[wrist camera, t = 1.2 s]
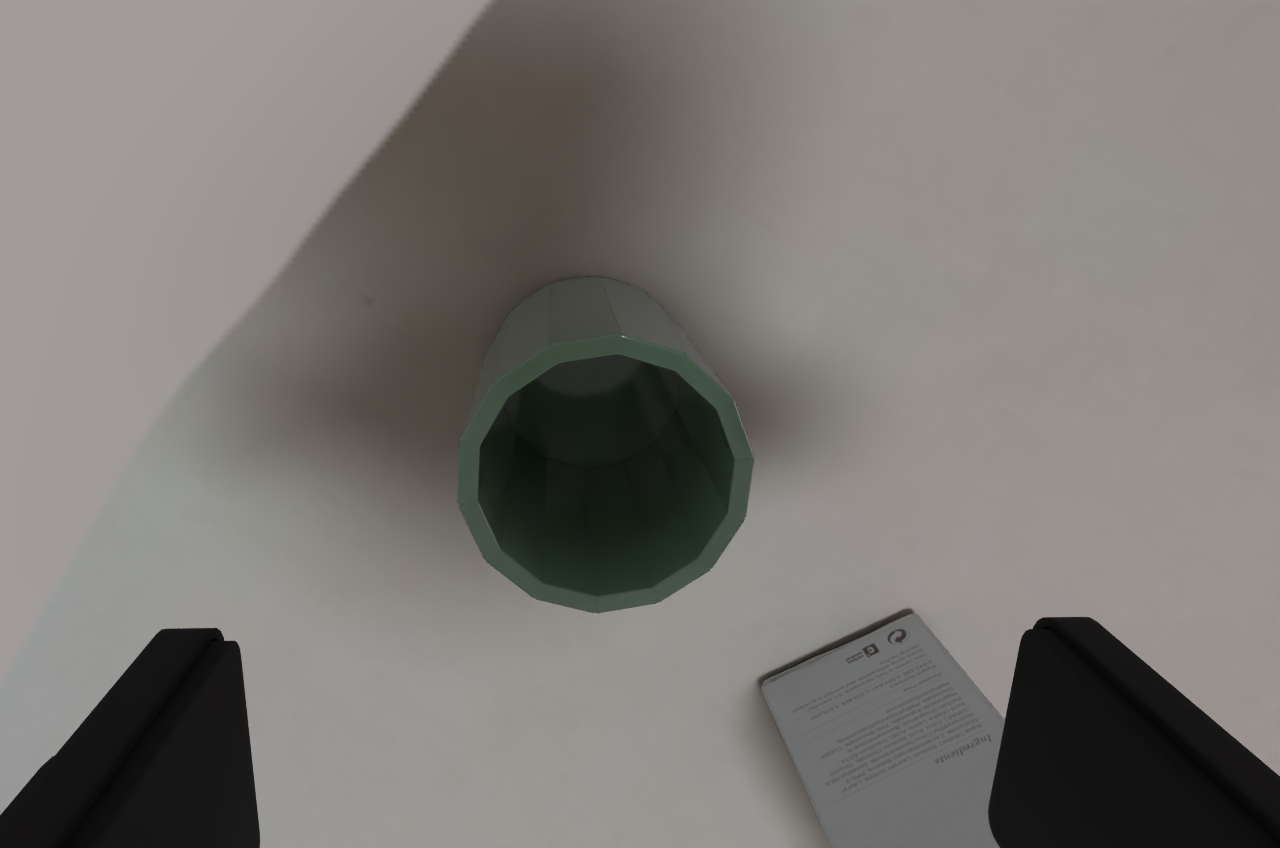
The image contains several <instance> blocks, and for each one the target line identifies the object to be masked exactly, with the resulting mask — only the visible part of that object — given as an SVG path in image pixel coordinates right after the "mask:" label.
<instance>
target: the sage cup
mask: <svg viewBox="0 0 1280 848" xmlns="http://www.w3.org/2000/svg"><path fill="white" fill-rule="evenodd" d="M753 457H754V455H753V452H752V449H751V446H750V443H749V440H748V437H747V434H746V432H745V429H744V426H743V423H742V420H741V417H740V414H739V411H738V409H737V406H736V403H735V400H734V399H733V397H732V396H731V394H730V393H729V391H728V390H727V389H726V387H725V386H724V385H723V383H722V382H721V380H720V379H719V378H718V376H717V375H716V374H715V372H714V371H713V369H712V368H711V367H710V365H709V364H708V362H707V361H706V360H705V358H704V357H703V356H702V354H701V353H700V351H699V350H698V349H697V347H696V346H695V345H694V343H693V342H692V340H691V339H690V338H689V336H688V335H687V333H686V332H685V331H684V329H683V328H682V327H681V325H680V324H679V323H678V322H677V321H676V320H675V319H674V318H673V317H672V316H671V315H670V314H669V313H668V312H667V311H666V310H665V309H664V307H663V306H662V305H661V304H659V303H658V302H657V301H656V300H655V299H654V298H652V297H651V296H650V295H649V294H648V293H647V292H645V291H643V290H640V289H638V288H636V287H634V286H632V285H630V284H627V283H624V282H621V281H618V280H615V279H609V278H604V277H589V276H588V277H576V278H570V279H566V280H561V281H558V282H555V283H553V284H550V285H547V286H545V287H543V288H542V289H540V290H538V291H536V292H534V293H533V294H531V295H530V296H529V297H527V298H526V299H524V300H523V301H522V302H521V303H520V304H519V305H518V306H517V307H516V308H514V309H513V310H512V311H511V312H510V313H509V315H508V316H507V318H506V319H505V321H504V323H503V324H502V326H501V327H500V329H499V331H498V333H497V335H496V337H495V340H494V341H493V343H492V345H491V347H490V348H489V350H488V353H487V356H486V359H485V362H484V365H483V369H482V372H481V375H480V378H479V381H478V385H477V388H476V391H475V394H474V397H473V400H472V404H471V407H470V410H469V413H468V416H467V420H466V423H465V426H464V429H463V432H462V436H461V439H460V442H459V467H458V498H457V502H458V507H459V509H460V511H461V513H462V515H463V517H464V519H465V521H466V523H467V525H468V527H469V529H470V531H471V534H472V536H473V538H474V540H475V542H476V544H477V546H478V548H479V550H480V552H481V554H482V556H483V558H484V559H485V560H486V562H487V563H489V564H490V565H491V566H492V567H494V568H495V569H496V570H498V571H499V572H500V573H501V574H503V575H504V576H505V577H507V578H508V579H509V580H511V581H512V582H513V583H514V584H516V585H517V586H518V587H520V588H521V589H522V590H523V591H525V592H526V593H527V594H529V595H530V596H531V597H532V598H535V599H537V600H541V601H545V602H549V603H553V604H558V605H562V606H566V607H570V608H574V609H578V610H583V611H587V612H591V613H595V612H596V613H602V612H608V611H614V610H620V609H626V608H632V607H638V606H644V605H650V604H656V603H657V602H661V601H662V600H664V599H666V598H667V597H669V596H670V595H672V594H673V593H675V592H677V591H678V590H680V589H681V588H683V587H685V586H686V585H688V584H689V583H691V582H692V581H694V580H696V579H697V578H699V577H700V576H702V575H704V574H705V573H707V572H708V571H710V569H712V568H713V566H714V565H715V563H716V562H717V560H718V559H719V557H720V556H721V554H722V553H723V551H724V550H725V548H726V547H727V545H728V544H729V542H730V541H731V539H732V538H733V536H734V535H735V533H736V532H737V530H738V529H739V527H740V526H741V524H742V523H743V521H744V520H745V517H746V513H747V506H748V499H749V492H750V485H751V478H752V471H753V464H754V458H753Z"/></svg>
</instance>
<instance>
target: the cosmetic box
mask: <svg viewBox="0 0 1280 848" xmlns="http://www.w3.org/2000/svg"><path fill="white" fill-rule="evenodd" d="M761 689H762V692H763V695H764V697H765V699H766V701H767V704H768V706H769V708H770V710H771V713H772V715H773V717H774V719H775V721H776V724H777V726H778V728H779V730H780V733H781V735H782V737H783V739H784V742H785V744H786V746H787V748H788V751H789V753H790V755H791V757H792V759H793V762H794V764H795V766H796V768H797V770H798V773H799V775H800V777H801V779H802V781H803V783H804V786H805V788H806V791H807V793H808V795H809V798H810V800H811V802H812V805H813V807H814V810H815V812H816V814H817V817H818V819H819V821H820V823H821V826H822V828H823V830H824V833H825V835H826V837H827V839H828V842H829V844H830V846H831V848H1000V847H999V846H998V844H997V842H996V841H995V839H994V837H993V835H992V832H991V829H990V825H989V819H988V806H989V800H990V795H991V790H992V785H993V780H994V775H995V770H996V765H997V759H998V754H999V749H1000V744H1001V739H1002V734H1003V729H1004V724H1005V719H1004V718H1003V717H1002V716H1001V715H1000V713H999V712H998V711H997V710H996V709H995V707H994V706H993V705H992V704H991V703H990V701H989V700H988V699H987V698H986V697H985V696H984V694H983V693H982V692H981V691H980V689H979V688H978V687H977V686H976V685H975V683H974V682H973V681H972V680H971V679H970V677H969V676H968V675H967V674H966V673H965V671H964V670H963V669H962V668H961V667H960V665H959V664H958V663H957V662H956V661H955V659H954V658H953V657H952V656H951V655H950V653H949V652H948V651H947V649H946V648H945V647H944V646H943V645H942V644H941V642H940V641H939V640H938V639H937V638H936V637H935V635H934V634H933V633H932V632H931V630H930V629H929V628H928V627H927V625H926V624H925V623H924V622H923V621H922V619H921V618H920V617H919V616H918V615H917V614H910V615H907V616H904V617H902V618H900V619H897V620H895V621H893V622H891V623H889V624H887V625H885V626H883V627H881V628H879V629H877V630H876V631H874V632H871V633H869V634H867V635H865V636H863V637H861V638H858V639H856V640H854V641H852V642H849V643H847V644H845V645H842V646H840V647H838V648H836V649H833V650H831V651H828V652H826V653H823V654H821V655H818V656H816V657H814V658H812V659H810V660H807V661H805V662H804V663H801V664H799V665H797V666H795V667H793V668H790V669H788V670H786V671H784V672H782V673H779V674H777V675H775V676H773V677H770V678H769V679H767V680H765V681H764V682H763V684H762V687H761Z"/></svg>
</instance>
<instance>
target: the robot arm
mask: <svg viewBox="0 0 1280 848" xmlns="http://www.w3.org/2000/svg"><path fill="white" fill-rule="evenodd" d="M988 819H989V825H990V829H991V832H992V835H993V837H994V839H995V841H996V842H997V844H998V846H999V847H1000V848H1280V776H1279V775H1277V774H1276V773H1275V772H1274V771H1273V770H1271V769H1270V768H1269V767H1268V766H1267V765H1266V764H1264V763H1263V762H1262V761H1261V760H1260V759H1258V758H1257V757H1256V756H1255V755H1254V754H1253V753H1251V752H1250V751H1249V750H1248V749H1247V748H1245V747H1244V746H1243V745H1242V744H1241V743H1240V742H1238V741H1237V740H1236V739H1235V738H1234V737H1232V736H1231V735H1230V734H1229V733H1228V732H1227V731H1225V730H1224V729H1223V728H1222V727H1221V726H1219V725H1218V724H1217V723H1216V722H1215V721H1214V720H1212V719H1211V718H1210V717H1209V716H1208V715H1206V714H1205V713H1204V712H1203V711H1202V710H1201V709H1199V708H1198V707H1197V706H1196V705H1195V704H1193V703H1192V702H1191V701H1190V700H1189V699H1188V698H1186V697H1185V696H1184V695H1183V694H1182V693H1180V692H1179V691H1178V690H1177V689H1176V688H1175V687H1173V686H1172V685H1171V684H1170V683H1169V682H1167V681H1166V680H1165V679H1164V678H1163V677H1162V676H1160V675H1159V674H1158V673H1157V672H1156V671H1154V670H1153V669H1152V668H1151V667H1150V666H1149V665H1147V664H1146V663H1145V662H1144V661H1143V660H1141V659H1140V658H1139V657H1138V656H1137V655H1136V654H1134V653H1133V652H1132V651H1131V650H1130V649H1128V648H1127V647H1126V646H1125V645H1124V644H1123V643H1121V642H1120V641H1119V640H1118V639H1117V638H1115V637H1114V636H1113V635H1112V634H1111V633H1110V632H1108V631H1107V630H1106V629H1105V628H1104V627H1102V626H1101V625H1100V624H1099V623H1098V622H1097V621H1095V620H1093V619H1091V618H1089V617H1047V618H1042V619H1040V620H1038V621H1037V622H1036V624H1035V625H1034V627H1033V629H1029V630H1027V631H1026V632H1025V633H1024V634H1023V636H1022V639H1021V642H1020V647H1019V652H1018V657H1017V662H1016V667H1015V672H1014V677H1013V682H1012V688H1011V693H1010V698H1009V703H1008V708H1007V713H1006V718H1005V724H1004V729H1003V734H1002V739H1001V744H1000V749H999V754H998V759H997V765H996V770H995V775H994V780H993V785H992V790H991V795H990V800H989V806H988ZM259 847H260V831H259V821H258V812H257V803H256V793H255V784H254V774H253V765H252V755H251V746H250V737H249V727H248V718H247V708H246V699H245V689H244V680H243V671H242V661H241V653H240V648H239V645H238V643H237V642H235V641H224V637H223V635H222V633H221V631H220V630H219V629H217V628H189V629H162V630H161V631H160V632H158V633H157V634H156V635H155V636H154V638H153V639H152V640H151V641H150V642H149V644H148V645H147V646H146V647H145V648H144V650H143V651H142V652H141V653H140V654H139V656H138V657H137V658H136V659H135V660H134V662H133V663H132V664H131V665H130V666H129V668H128V669H127V670H126V671H125V672H124V674H123V675H122V676H121V677H120V678H119V680H118V681H117V682H116V683H115V684H114V686H113V687H112V688H111V689H110V690H109V692H108V693H107V694H106V695H105V696H104V698H103V699H102V700H101V701H100V702H99V704H98V705H97V706H96V707H95V708H94V710H93V711H92V712H91V713H90V714H89V716H88V717H87V718H86V719H85V720H84V722H83V723H82V724H81V725H80V726H79V728H78V729H77V730H76V731H75V732H74V734H73V735H72V736H71V737H70V738H69V740H68V741H67V742H66V743H65V744H64V746H63V747H62V748H61V749H60V750H59V751H58V753H57V754H56V755H55V756H53V757H52V758H51V759H49V760H48V761H47V762H46V763H45V764H44V765H43V766H42V767H41V768H40V769H39V770H38V771H37V772H36V774H35V775H34V776H33V777H32V778H31V780H30V781H29V782H28V783H27V784H26V786H25V787H24V788H23V789H22V790H21V791H20V793H19V794H18V795H17V796H16V797H15V799H14V800H13V801H12V802H11V803H10V805H9V806H8V807H7V808H6V809H5V810H4V812H3V813H2V814H1V815H0V848H259Z"/></svg>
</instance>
